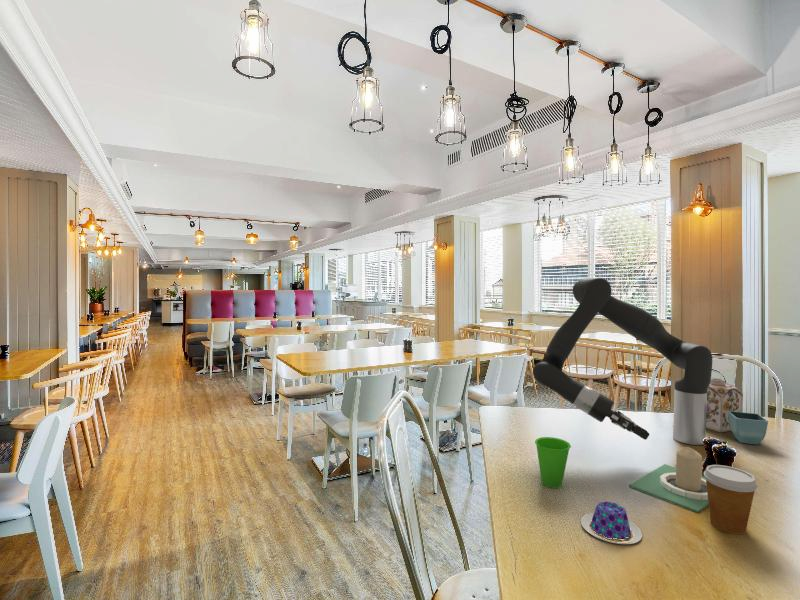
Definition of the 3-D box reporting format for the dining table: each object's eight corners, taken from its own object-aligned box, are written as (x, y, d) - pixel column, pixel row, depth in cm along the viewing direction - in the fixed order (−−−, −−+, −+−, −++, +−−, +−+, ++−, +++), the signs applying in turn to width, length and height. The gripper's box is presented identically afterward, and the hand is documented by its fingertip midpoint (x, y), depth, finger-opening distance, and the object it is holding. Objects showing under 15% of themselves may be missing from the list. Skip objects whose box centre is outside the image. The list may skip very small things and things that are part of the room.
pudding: (602, 550, 87) (603, 524, 87) (570, 518, 99) (570, 495, 99) (655, 544, 89) (656, 520, 89) (617, 513, 101) (618, 492, 101)
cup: (569, 478, 118) (570, 439, 118) (570, 494, 109) (571, 451, 109) (534, 473, 121) (535, 435, 120) (533, 488, 112) (534, 446, 112)
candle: (705, 492, 109) (706, 454, 109) (680, 490, 110) (682, 452, 110) (694, 482, 115) (696, 445, 114) (671, 480, 116) (673, 444, 115)
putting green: (664, 465, 127) (664, 460, 127) (731, 487, 114) (731, 480, 114) (628, 486, 114) (628, 480, 114) (699, 513, 101) (699, 506, 101)
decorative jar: (742, 429, 159) (744, 381, 158) (721, 433, 155) (723, 383, 154) (709, 420, 170) (711, 374, 169) (688, 423, 166) (690, 376, 165)
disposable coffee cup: (759, 544, 89) (761, 487, 89) (703, 529, 94) (705, 475, 94) (751, 522, 97) (754, 470, 97) (700, 510, 102) (702, 460, 102)
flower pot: (735, 444, 144) (736, 417, 144) (726, 435, 153) (727, 410, 152) (767, 448, 141) (769, 421, 141) (757, 439, 149) (758, 413, 149)
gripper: (598, 392, 126) (656, 426, 118) (600, 393, 138) (652, 423, 131) (585, 414, 126) (641, 449, 119) (588, 412, 139) (639, 444, 131)
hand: (647, 435), depth 125 cm, fingers open, 8 cm apart
